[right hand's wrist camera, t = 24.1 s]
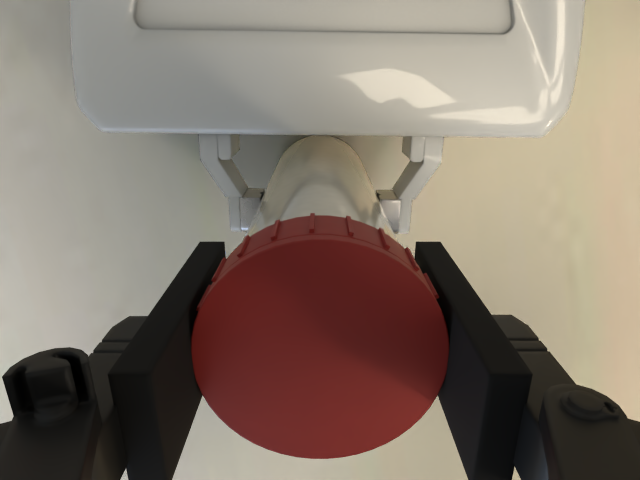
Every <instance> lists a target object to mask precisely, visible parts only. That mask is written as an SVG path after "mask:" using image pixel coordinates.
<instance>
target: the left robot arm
mask: <svg viewBox="0 0 640 480" xmlns="http://www.w3.org/2000/svg"><path fill="white" fill-rule="evenodd" d="M584 10H585V0H70V38H71V57H72V69H73V79H74V88H75V95H76V100H77V104H78V106H79V108H80V110H81V111H82V112H83V113H84V115H85V116H86V117H87V118H88V119H89V120H90V121H91V122H92V124H93V125H94V126H95V127H96V128H97V129H98V130H100V131H102V132H112V133H187V134H198V138H199V150H200V160H201V162H202V163H203V165H204V166H205V168H206V169H207V170H208V172H209V173H210V175H211V176H212V178H213V179H214V181H215V182H216V184H217V185H218V187H219V188H220V190H221V191H222V193H223V194H224V195H225V197H228V201H229V217H230V228H231V231H233V232H247V230H248V228H249V226H250V224H251V221H252V219H253V217H254V215H255V213H256V210H257V208H258V206H259V204H260V202H261V199H262V197H263V195H264V193H265V189H263V188H248V186H247V184H246V183H245V181H244V179H243V178H242V176H241V174H240V173H239V171H238V169H237V168H236V166H235V164H234V163H233V161H232V159H231V158H232V157H233V156H234V155H235V154H236V153H237V152H238V151H239V150H240V147H239V134H263V135H339V136H403V143H402V152H403V153H404V154H405V155H406V156H407V157H408V158H409V159H410V162H409V163H408V165H407V167H406V168H405V170H404V171H403V173H402V174H401V176H400V178H399V179H398V181H397V182H396V184H395V185H394V187H393V188H392V189H393V190H376V195H377V197H378V199H379V201H380V204H381V206H382V208H383V210H384V212H385V215H386V217H387V219H388V221H389V223H390V225H391V228H392V230H393V232H394V234H408V233H409V229H410V219H411V208H412V199H416V197H417V196H418V194H419V193H420V192H421V190H422V189H423V188H424V186H425V185H426V183H427V182H428V181H429V179H430V178H431V177H432V175H433V174H434V172H435V171H436V170H437V168H438V167H439V165H440V164H441V159H442V150H443V142H444V137H492V138H541V137H544V136H545V135H547V134H548V133H549V132H550V131H551V130H552V129H553V128H554V127H555V126H556V125H557V124H558V122H559V121H560V120H561V119H562V118H563V117H564V116H565V115H566V113H567V111H568V109H569V106H570V103H571V99H572V95H573V90H574V85H575V80H576V74H577V68H578V63H579V56H580V49H581V40H582V31H583V22H584Z"/></svg>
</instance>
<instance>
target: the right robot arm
mask: <svg viewBox="0 0 640 480" xmlns="http://www.w3.org/2000/svg"><path fill="white" fill-rule="evenodd" d="M223 258H226V257H225V244H224V242H200V243H199V244H198V246H197V247H196V248H195V250H194V251H193V253H192V254H191V256H190V257H189V258H188V260H187V261H186V263H185V264H184V265H183V267H182V268H181V270H180V271H179V273H178V274H177V275H176V277H175V278H174V280H173V281H172V283H171V284H170V285H169V287H168V288H167V290H166V291H165V293H164V294H163V295H162V297H161V298H160V300H159V301H158V303H157V304H156V305H155V307H154V308H153V310H152V311H151V313H150V314H149V315H148V316H129V317H127V318H126V319H124V320H123V321H121V322H120V323H118V324H117V325H115V326H113V327H112V328H111V329H110V331H109V332H108V333H107V334H106V336H105V337H104V338H103V339H102V342H100V343H99V344H98V346H97V347H96V348H95V349H94V350H93V351H94V352H93V353H91V354H90V355H89V357H88V355H87V354H86V353H85V352H83V351H82V350H80V349H75V348H54V349H50V350H46V351H42V352H38V353H36V354H34V355H31V356H29V357H27V358H24V359H22V360H21V361H19V362H18V363H16V364H15V365H13V366H12V367H10V368H9V369H8V371H7V372H6V373H5V374H4V375H3V376H2V378H3V381H4V385H5V388H6V391H7V395H8V398H9V401H10V405H11V408H12V412H13V415H14V417H13V419H12V421H9V422H6V423H2V424H0V480H120V479H121V477H122V475H123V473H124V471H125V469H127V474H128V479H129V480H172V478H173V475H174V472H175V470H176V467H177V464H178V461H179V459H180V456H181V453H182V450H183V448H184V445H185V442H186V439H187V436H188V434H189V431H190V428H191V425H192V423H193V420H194V417H195V414H196V412H197V409H198V406H199V403H200V401H201V398H202V393H201V391H200V388H199V386H198V384H197V382H196V378H195V375H194V369H193V361H192V353H191V336H192V331H193V326H194V322H195V319H196V316H197V314H198V311H196V309H197V306H198V305H199V303H200V301H201V299H202V297H203V295H204V293H205V291H206V289H207V287H208V285H212V283H213V281H211V280H212V278H213V276H214V274H215V272H216V270H217V268H218V266H219V264H220V263H221V261H222V259H223ZM415 261H416V263H417V264H418V266H419V267H420V269H421V271H422V273H423V274H424V273H427V275H428V277H429V279H430V281H431V283H432V285H433V287H434V288H435V290H436V292H437V294H438V296H439V298H437V299H436V300H437V302H438V304H439V306H440V308H441V310H442V313H443V316H444V319H445V321H446V324H447V330H448V335H449V355H448V364H447V371H446V375H445V379H444V382H443V384H442V387H441V389H440V391H439V393H438V397H439V400H440V403H441V405H442V408H443V411H444V414H445V416H446V419H447V422H448V425H449V427H450V430H451V433H452V436H453V438H454V441H455V444H456V447H457V450H458V452H459V455H460V458H461V461H462V463H463V466H464V469H465V472H466V474H467V477H468V480H512V476H513V471H514V466H515V468H516V470H517V472H518V474H519V476H520V478H521V480H640V422H638V421H634V420H631V419H628V418H627V416H626V415H625V413H624V412H623V411H622V409H621V408H620V406H619V405H618V404H616V403H615V402H614V401H612V400H611V399H610V398H608V397H607V396H605V395H603V394H601V393H599V392H597V391H595V390H593V389H590V388H587V387H583V386H579V385H576V384H575V382H574V381H573V380H572V379H571V378H570V376H569V375H568V374H567V373H566V371H565V370H564V369H563V368H562V366H561V365H560V364H559V363H558V362H557V360H556V359H555V358H554V357H553V355H552V354H551V353H550V352H547V348H546V347H545V346H544V344H543V343H542V342H541V341H539V338H538V337H537V336H536V335H535V333H534V332H533V331H532V330H531V328H530V327H529V326H528V325H526V324H525V323H523V322H522V321H520V320H518V319H517V318H515V317H514V316H512V315H491V314H490V312H489V311H488V309H487V308H486V306H485V305H484V304H483V302H482V301H481V299H480V298H479V296H478V295H477V294H476V292H475V291H474V289H473V288H472V286H471V285H470V284H469V282H468V281H467V279H466V278H465V277H464V275H463V274H462V272H461V271H460V269H459V268H458V267H457V265H456V264H455V262H454V261H453V259H452V258H451V257H450V255H449V254H448V252H447V251H446V249H445V248H444V247H443V245H442V244H441V242H416V248H415Z"/></svg>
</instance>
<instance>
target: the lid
mask: <svg viewBox="0 0 640 480" xmlns="http://www.w3.org/2000/svg"><path fill="white" fill-rule="evenodd" d="M211 281H213V283H212V285H208V287H207V289H206V291H205V293H204V295H203V297H202V299H201V301H200V303H199V305H198V306H197V309H196V311H198V314H197V316H196V319H195V322H194V326H193V331H192V336H191V353H192V361H193V369H194V375H195V378H196V382H197V384H198V386H199V388H200V391H201V393H202V395H203V396H204V398H205V400H206V401H207V403H208V405H209V406H210V407H211V409H212V410H213V411H214V412H215V414H216V415H217V416H218V417H219V418H220V419H221V420H222V421H223V422H224V423H225V424H226V425H227V426H228V427H230V428H231V429H232V430H234V431H235V432H236V433H238V434H239V435H240V436H242V437H244V438H245V439H247V440H249V441H250V442H252V443H254V444H256V445H259V446H261V447H263V448H265V449H268V450H271V451H274V452H277V453H280V454H284V455H289V456H294V457H301V458H310V459H329V458H340V457H346V456H351V455H356V454H360V453H363V452H366V451H369V450H372V449H375V448H377V447H379V446H382V445H384V444H386V443H388V442H390V441H391V440H393V439H395V438H397V437H398V436H400V435H401V434H403V433H404V432H405V431H407V430H408V429H409V428H411V427H412V426H413V425H414V424H415V423H416V422H417V421H418V420H419V419H420V418H421V417H422V416H423V415H424V414H425V413H426V411H427V410H428V409H429V408H430V406H431V405H432V403H433V402H434V400H435V399H436V397H437V395H438V393H439V391H440V389H441V387H442V384H443V382H444V379H445V375H446V371H447V364H448V355H449V335H448V330H447V324H446V321H445V319H444V316H443V313H442V310H441V308H440V306H439V304H438V302H437V300H436V299H437V298H439V296H438V294H437V292H436V290H435V288H434V287H433V285H432V283H431V281H430V279H429V277H428V275H427V273H424V274H423V273H422V271H421V269H420V267H419V266H418V264H417V263H416V261H415V259H414V257H413V255H412V253H411V251H410V249H409V248H408V247H407V248H406V249H404V248H403V247H402V246H401V245H400V244H399V243H398V242H397V241H395V240H394V239H393V238H391V237H390V236H389V235H387V234H385V232H384V230H383V229H382V228H379V229H377V228H375V227H372V226H370V225H367V224H365V223H362V222H360V221H356V220H352V219H351V216H346V218H345V217H337V216H329V215H315V213H310V216H303V217H296V218H292V219H288V220H284V221H280V220H276V221H275V224H273V225H270V226H268V227H266V228H264V229H262V230H260V231H258V232H257V233H255V234H253V235H252V236H249V235H247V236H245V238H244V240H243V242H242V243H241V244H240V245H239V246H238V247H237V248H236V249H235V250H234V251H233V252H232V253H231V254H230V255H229V257H228V258H227V259H226V258H223V259H222V261H221V263H220V264H219V266H218V268H217V270H216V272H215V274H214V276H213V278H212V280H211Z"/></svg>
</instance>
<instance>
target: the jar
mask: <svg viewBox="0 0 640 480" xmlns="http://www.w3.org/2000/svg"><path fill="white" fill-rule="evenodd" d="M310 213H315V215H329V216H337V217H345V218H346V216H351V219H352V220H356V221H360V222H362V223H365V224H367V225H370V226H372V227H375V228H377V229H379V228H382V229H383V230H384V232H385V234H387V235H389V236H390V237H391V238H393V239H394V240H395V241H397V239H396V236H395V234H394V232H393V230H392V228H391V225H390V223H389V221H388V219H387V217H386V215H385V212H384V210H383V208H382V206H381V204H380V201H379V199H378V197H377V195H376V193H375V190H374V188H373V186H372V184H371V182H370V179H369V177H368V175H367V173H366V171H365V168H364V166H363V164H362V162H361V160H360V158H359V156H358V155H357V153H356V152H355V151H354V150H353V149H352V148H351V147H350V146H349V145H348V144H346V143H345V142H343V141H341V140H339V139H337V138H334V137H331V136H326V135H315V136H309V137H306V138H303V139H301V140H299V141H297V142H295V143H294V144H292V145H291V146H290V147H289V148H288V149H287V150H286V151H285V152H284V153H283V155H282V156H281V158H280V160H279V162H278V164H277V166H276V169H275V171H274V173H273V175H272V177H271V180H270V182H269V184H268V186H267V188H266V191H265V193H264V195H263V197H262V199H261V202H260V204H259V206H258V208H257V210H256V213H255V215H254V217H253V219H252V221H251V224H250V226H249V228H248V230H247V232H246V235H245V236H247V235H249V236H252V235H253V234H255V233H257V232H258V231H260V230H262V229H264V228H266V227H268V226H270V225H273V224H275V221H276V220H280V221H284V220H288V219H292V218H296V217H303V216H310ZM244 238H245V237H244ZM243 240H244V239H243ZM242 242H243V241H242ZM397 242H398V241H397Z"/></svg>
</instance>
